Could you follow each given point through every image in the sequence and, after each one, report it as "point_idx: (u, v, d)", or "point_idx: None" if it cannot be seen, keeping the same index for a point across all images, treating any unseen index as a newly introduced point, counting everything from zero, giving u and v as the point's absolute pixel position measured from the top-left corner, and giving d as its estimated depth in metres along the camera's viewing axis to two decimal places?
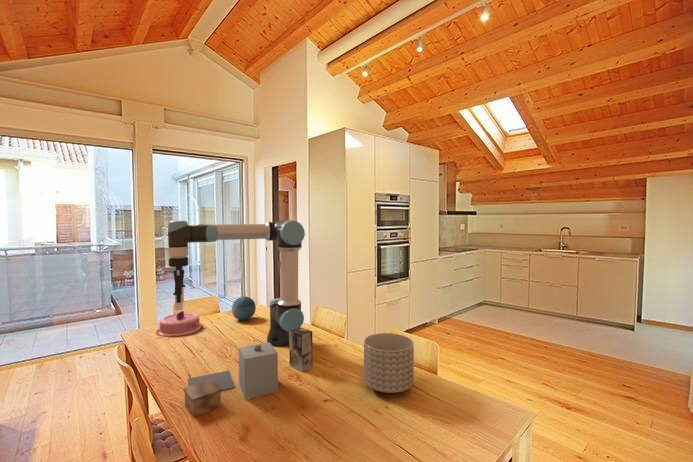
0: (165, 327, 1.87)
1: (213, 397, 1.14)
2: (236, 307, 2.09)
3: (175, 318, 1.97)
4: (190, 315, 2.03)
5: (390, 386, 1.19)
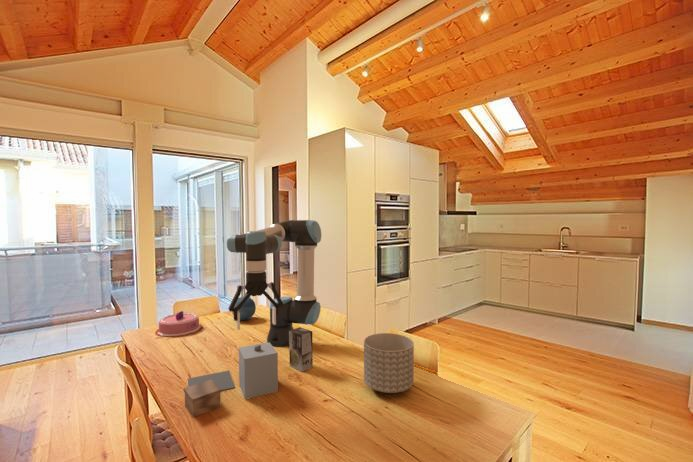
0: (164, 327, 1.86)
1: (213, 397, 1.14)
2: None
3: (174, 318, 1.96)
4: (189, 315, 2.02)
5: (390, 386, 1.19)
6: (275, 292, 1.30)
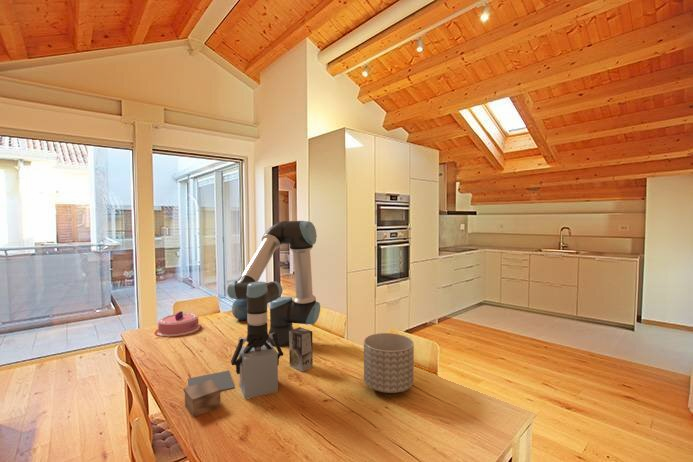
0: (164, 327, 1.86)
1: (213, 397, 1.14)
2: (236, 307, 2.09)
3: (174, 318, 1.96)
4: (189, 315, 2.02)
5: (390, 386, 1.19)
6: (276, 343, 1.30)
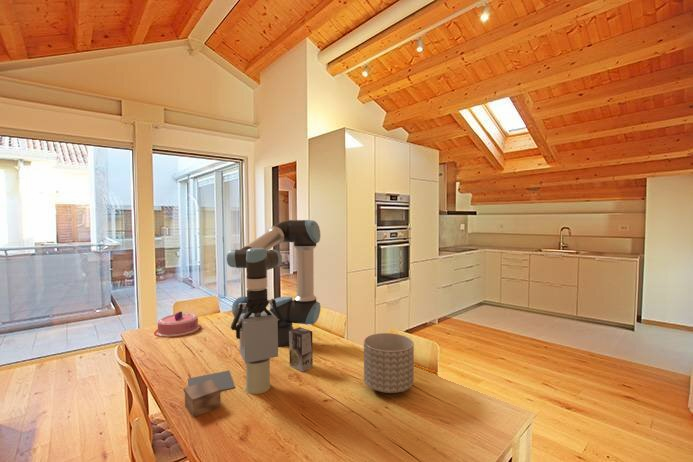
0: (163, 327, 1.86)
1: (213, 397, 1.14)
2: (236, 307, 2.09)
3: (173, 318, 1.96)
4: (188, 315, 2.02)
5: (390, 386, 1.19)
6: (276, 309, 1.30)
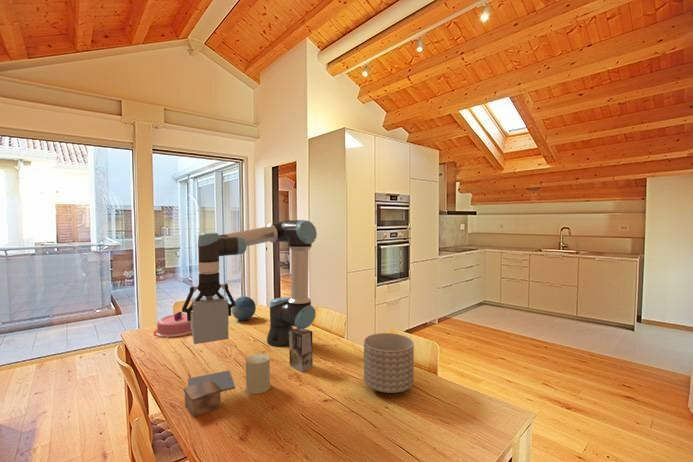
0: (163, 328, 1.85)
1: (213, 397, 1.14)
2: (236, 307, 2.09)
3: (173, 319, 1.95)
4: None
5: (390, 386, 1.19)
6: (228, 293, 1.33)
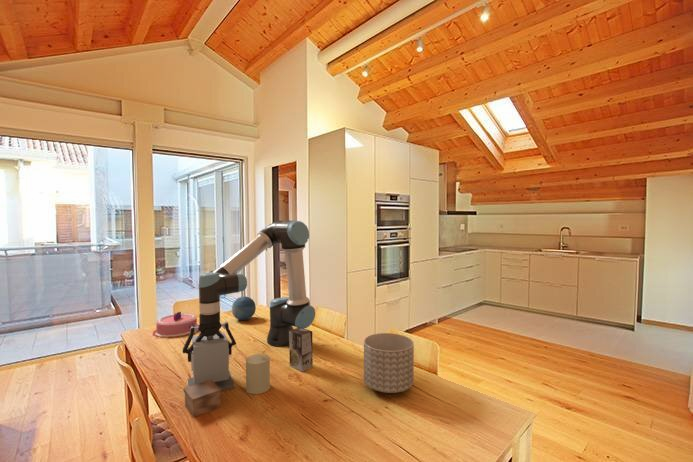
0: (162, 328, 1.85)
1: (213, 397, 1.14)
2: (236, 307, 2.09)
3: (172, 319, 1.95)
4: (187, 316, 2.01)
5: (390, 386, 1.19)
6: (228, 332, 1.33)
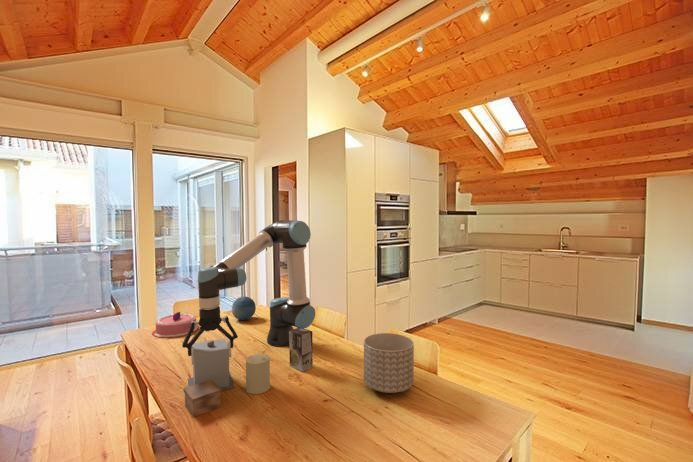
0: (161, 328, 1.85)
1: (213, 397, 1.14)
2: (236, 307, 2.09)
3: (171, 319, 1.95)
4: (186, 316, 2.01)
5: (390, 386, 1.19)
6: (229, 326, 1.34)
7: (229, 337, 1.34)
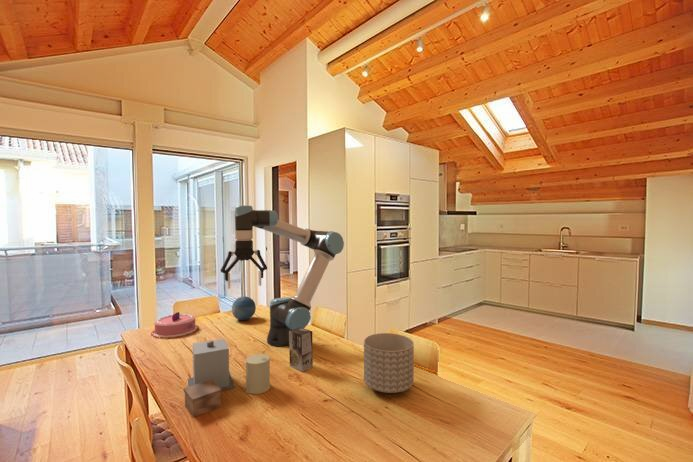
0: (160, 328, 1.84)
1: (213, 397, 1.14)
2: (236, 307, 2.09)
3: (170, 319, 1.94)
4: (186, 316, 2.00)
5: (390, 386, 1.19)
6: (260, 258, 1.52)
7: (260, 268, 1.52)
